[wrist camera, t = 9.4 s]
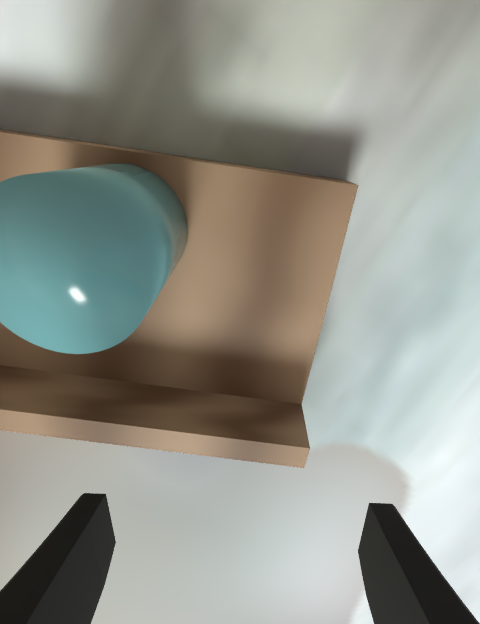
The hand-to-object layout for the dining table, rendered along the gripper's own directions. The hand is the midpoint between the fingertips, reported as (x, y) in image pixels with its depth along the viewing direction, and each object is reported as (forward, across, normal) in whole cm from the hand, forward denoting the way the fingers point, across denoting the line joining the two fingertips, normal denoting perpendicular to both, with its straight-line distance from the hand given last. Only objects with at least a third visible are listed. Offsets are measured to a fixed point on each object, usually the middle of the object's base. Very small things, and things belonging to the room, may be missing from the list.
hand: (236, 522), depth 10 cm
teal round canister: (+8, +5, -6) cm, 12 cm away
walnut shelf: (+10, +5, -3) cm, 12 cm away
